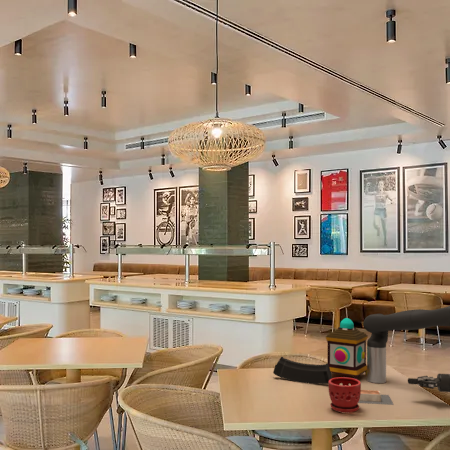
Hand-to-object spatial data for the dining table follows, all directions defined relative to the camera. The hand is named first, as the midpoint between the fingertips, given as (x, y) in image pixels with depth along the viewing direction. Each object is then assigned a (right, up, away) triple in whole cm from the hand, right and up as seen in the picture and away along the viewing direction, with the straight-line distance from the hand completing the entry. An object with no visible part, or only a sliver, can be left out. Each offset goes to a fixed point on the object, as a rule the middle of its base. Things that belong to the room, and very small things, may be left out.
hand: (408, 381), depth 237 cm
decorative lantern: (-17, -11, +45) cm, 49 cm away
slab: (-12, -7, +2) cm, 14 cm away
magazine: (-41, -10, +33) cm, 54 cm away
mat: (-18, -9, +3) cm, 20 cm away
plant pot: (-30, -9, -11) cm, 33 cm away
